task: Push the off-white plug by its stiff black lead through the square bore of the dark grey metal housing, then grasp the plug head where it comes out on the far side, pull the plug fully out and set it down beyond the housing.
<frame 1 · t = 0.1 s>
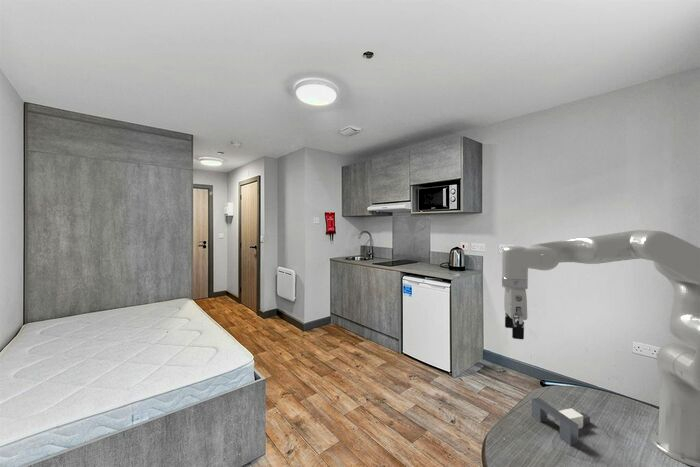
hand: (513, 332, 97), 31 cm above the table, tool pointing down, fingers open, 9 cm apart
housing: (553, 428, 94), on the table
plug: (573, 424, 96), on the table
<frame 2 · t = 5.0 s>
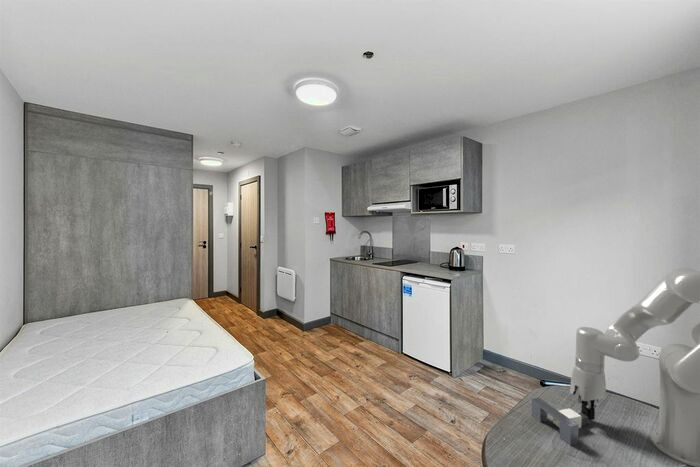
hand: (587, 417, 98), 1 cm above the table, tool pointing down, fingers closed
plug: (571, 424, 96), on the table, touching gripper
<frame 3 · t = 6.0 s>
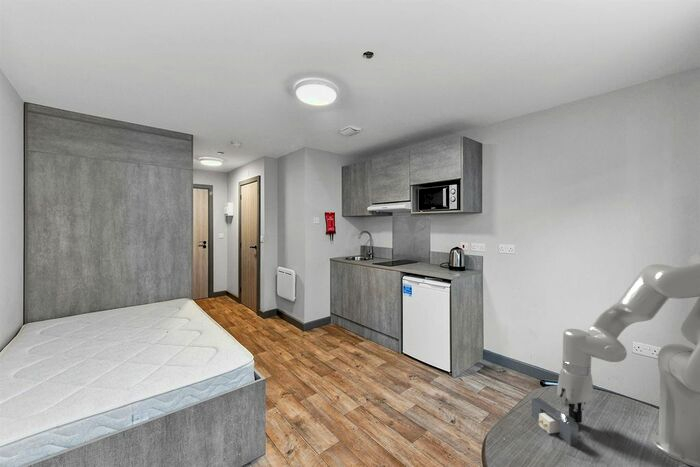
hand: (575, 420, 97), 1 cm above the table, tool pointing down, fingers closed
plug: (558, 427, 95), on the table, touching gripper
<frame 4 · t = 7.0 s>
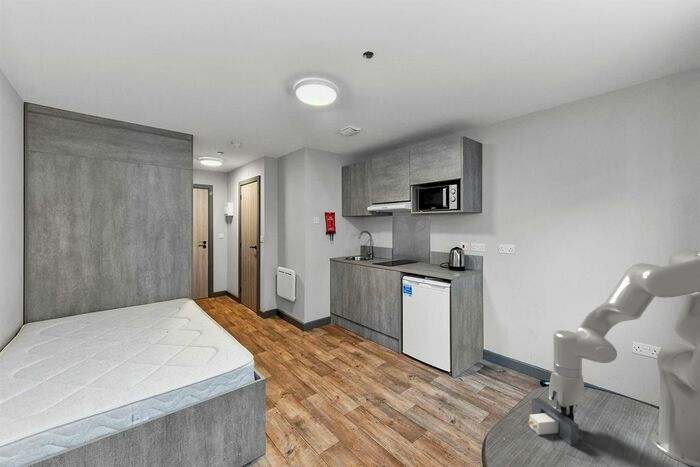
hand: (567, 423, 95), 1 cm above the table, tool pointing down, fingers closed
plug: (549, 428, 94), on the table, touching gripper
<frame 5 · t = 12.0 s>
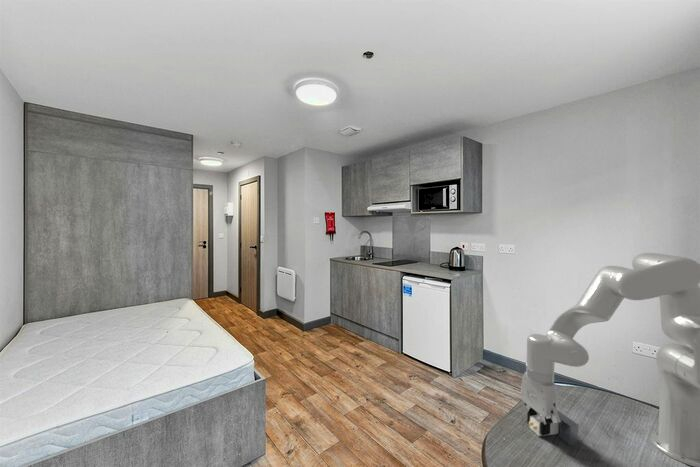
hand: (538, 428, 93), 1 cm above the table, tool pointing down, fingers closed on plug, 4 cm apart
plug: (549, 429, 94), on the table, touching gripper
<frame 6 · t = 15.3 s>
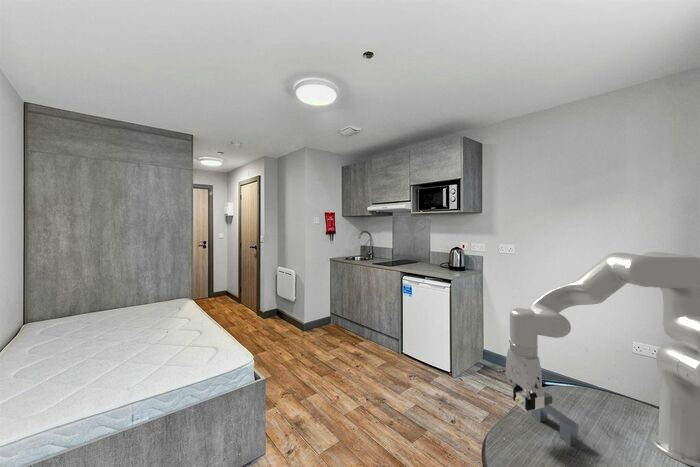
hand: (524, 404, 91), 10 cm above the table, tool pointing down, fingers closed on plug, 4 cm apart
plug: (535, 404, 92), point 10 cm above the table, touching gripper
when the fingers open (2 cm above the table, at t = 18.3 s): plug drops 1 cm, on the table.
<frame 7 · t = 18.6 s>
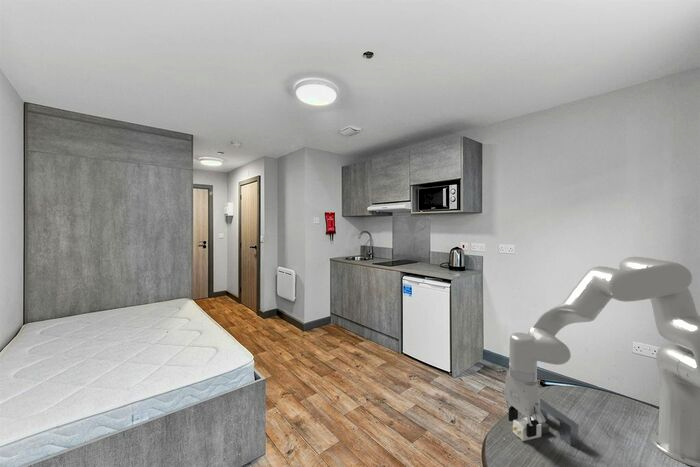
hand: (521, 427, 91), 3 cm above the table, tool pointing down, fingers open, 6 cm apart
plug: (532, 433, 93), on the table
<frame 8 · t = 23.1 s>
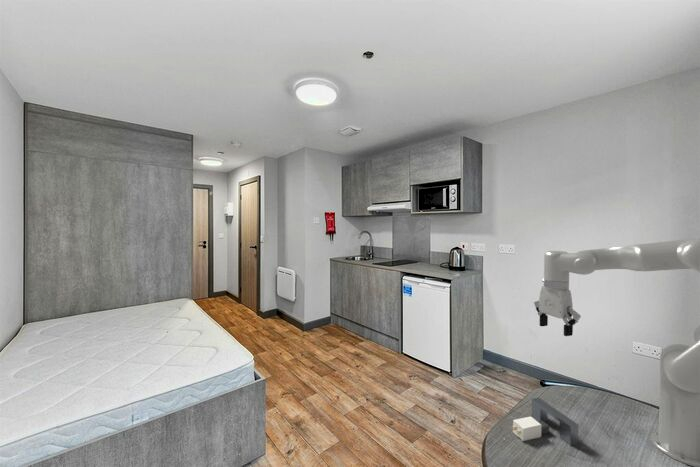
hand: (555, 330, 105), 28 cm above the table, tool pointing down, fingers open, 9 cm apart
nothing on the table moved.
at the end: plug inside the target area (1.4 cm from its centre), on the table; plug touching table; plug tilted 0° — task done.
